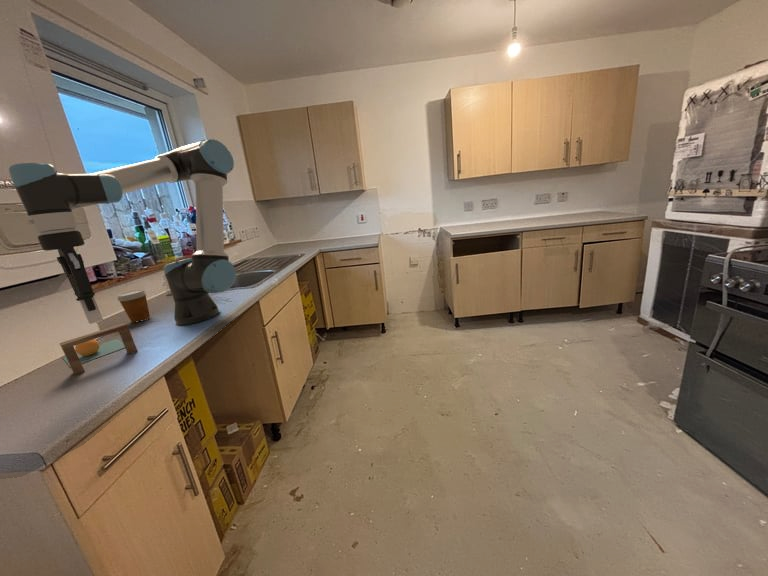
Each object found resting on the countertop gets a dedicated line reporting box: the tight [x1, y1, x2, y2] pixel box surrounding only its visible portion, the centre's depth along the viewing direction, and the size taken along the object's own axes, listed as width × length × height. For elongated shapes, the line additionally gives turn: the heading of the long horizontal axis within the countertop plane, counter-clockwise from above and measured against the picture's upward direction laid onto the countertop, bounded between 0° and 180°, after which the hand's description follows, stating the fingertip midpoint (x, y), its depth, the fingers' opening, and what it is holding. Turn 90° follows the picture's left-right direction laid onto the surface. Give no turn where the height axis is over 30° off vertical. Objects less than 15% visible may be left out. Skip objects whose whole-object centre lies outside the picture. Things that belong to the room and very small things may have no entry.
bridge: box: [59, 322, 138, 376], centre depth 91 cm, size 3×14×9 cm, turn 143°
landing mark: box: [62, 338, 125, 367], centre depth 100 cm, size 14×14×1 cm
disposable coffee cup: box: [116, 288, 151, 323], centre depth 127 cm, size 10×10×12 cm
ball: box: [74, 339, 100, 356], centre depth 98 cm, size 6×6×6 cm
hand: (96, 321), depth 82 cm, fingers closed
